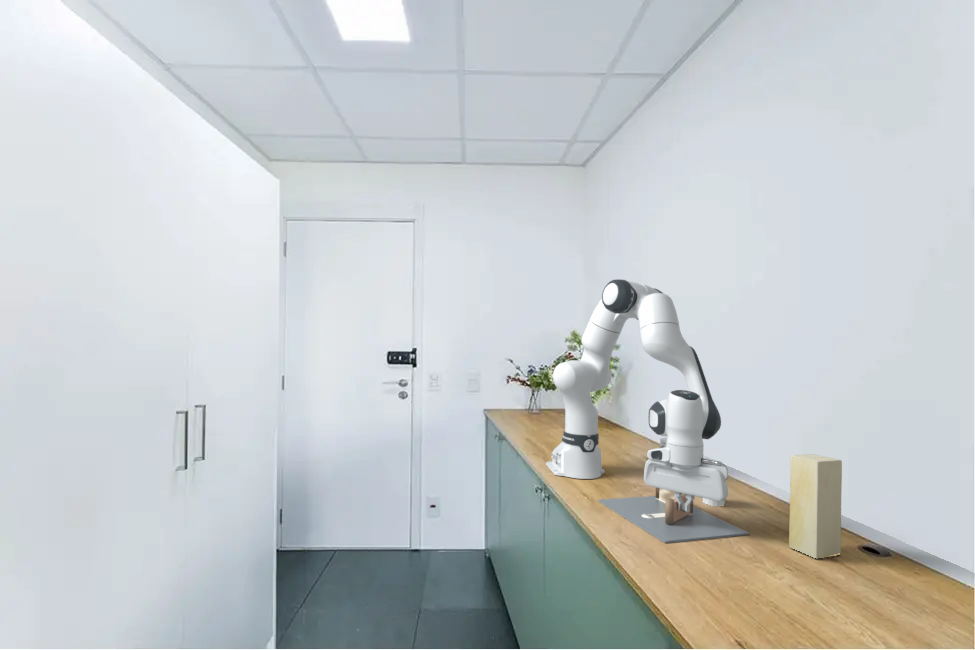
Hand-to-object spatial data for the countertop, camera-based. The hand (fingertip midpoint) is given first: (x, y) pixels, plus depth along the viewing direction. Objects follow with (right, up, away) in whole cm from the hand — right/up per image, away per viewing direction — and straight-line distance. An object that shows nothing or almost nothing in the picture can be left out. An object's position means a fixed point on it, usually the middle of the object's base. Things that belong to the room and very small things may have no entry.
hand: (683, 510), depth 126 cm
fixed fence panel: (+2, -4, +15) cm, 16 cm away
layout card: (-2, -4, +6) cm, 7 cm away
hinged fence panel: (0, -3, +3) cm, 4 cm away
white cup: (+16, -5, +18) cm, 25 cm away
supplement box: (+16, -6, +49) cm, 52 cm away
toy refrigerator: (+24, -4, -14) cm, 28 cm away
